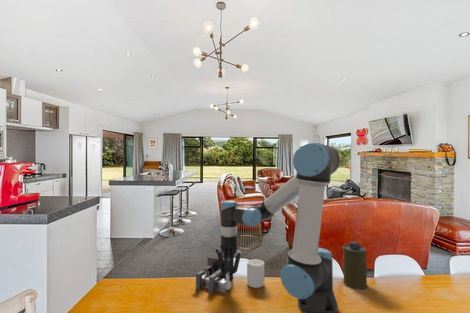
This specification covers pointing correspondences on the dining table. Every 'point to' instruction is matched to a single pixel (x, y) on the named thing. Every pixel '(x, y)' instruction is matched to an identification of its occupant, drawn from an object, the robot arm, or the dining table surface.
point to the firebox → (211, 270)
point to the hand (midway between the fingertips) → (228, 287)
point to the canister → (354, 266)
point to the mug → (255, 273)
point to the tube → (219, 283)
